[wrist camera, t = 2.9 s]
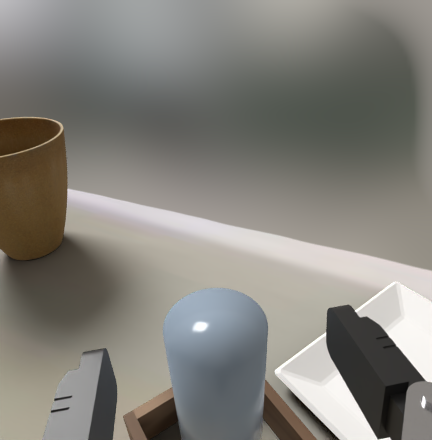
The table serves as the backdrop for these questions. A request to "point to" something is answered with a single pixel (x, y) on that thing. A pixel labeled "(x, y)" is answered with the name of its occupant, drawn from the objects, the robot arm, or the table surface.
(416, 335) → the plate
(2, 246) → the plant pot
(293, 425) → the holder
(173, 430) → the table surface
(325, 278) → the table surface
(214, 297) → the cylinder
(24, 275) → the table surface
